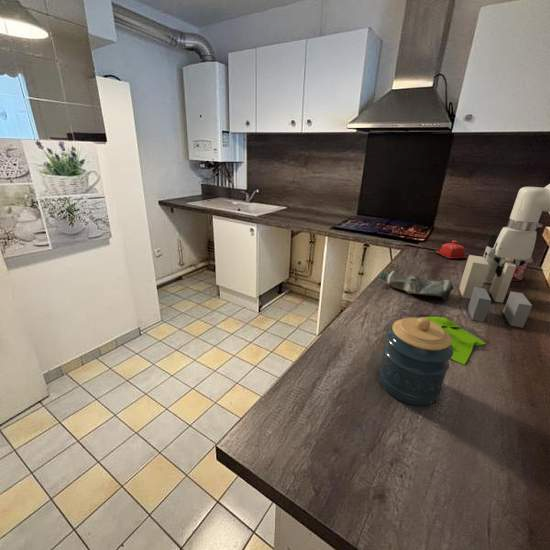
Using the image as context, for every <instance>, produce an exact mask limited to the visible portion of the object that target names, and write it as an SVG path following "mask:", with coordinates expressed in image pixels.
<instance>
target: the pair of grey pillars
mask: <svg viewBox="0 0 550 550" xmlns="http://www.w3.org/2000/svg"><path fill="white" fill-rule="evenodd" d="M491 303H492V299H491V297H490V294H489V293H488V291H487V289H486V288H483V287H482V288H478V287H474V289H473V292H472V295H471V299H469V302H468V306H467V310H468V313H469V315H470V319H471V321H475V322H480V323H484V322H485V320H486V317H487V314H488V311H489V308H490V306H491ZM532 307H533V305H532V303H531V302H530V301H529V299H528V298H527V297H526V295H524V293H523V292H517V291H510V292H509V294H508V297H507V300H506V303H505V306H504V308H503V311H502V313H503V315H504V316H505V318H506V320H507V322H508V324H509V325H510V326H511V327H517V328H520V329H521V328H522V329H523V328H524V326H525V324H526V322H527V320H528V317H529V315H530V313H531V309H532Z"/></svg>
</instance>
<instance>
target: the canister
mask: <svg viewBox="0 0 550 550" xmlns="http://www.w3.org/2000/svg"><path fill="white" fill-rule="evenodd" d="M425 317H426V316H421V317H415V316H414V317H406V318H400V319H398V320H396V321H395V322H393V324H392V326H391V328H390V329H388V331H387V332H386V342H385V343H384V346H383V354H382V355H383V356H382V360H381V364H380V366H379V375H378V376H379V382H380V384H381V386H382V388H383V389H384V390H385V391H386V392H387V393H388V394H389V395H390V396H391V397H393V398H395V399H397V400H398V401H400V402H403V403H406V404H408V405H412V406H413V405H414V406H428V405H431V404H433V403H435V402H436V401H437V400H438V398H439V397H440V395H441V393H442V389H443V383H444V381H445V378H446V374H447V372H448V370H449V368H450V361H449V360H451V359H450V358H451V357H452V356H453V348H452V346H451V342H452V340H451V337H450V335H449V334H448V333H447V332H446V331H445V330H444V329H442V328H441V327H440V326H439V325H437V324H436V323H434V322H432V321H429V319H427V318H425Z"/></svg>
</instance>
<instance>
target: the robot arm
mask: <svg viewBox="0 0 550 550" xmlns="http://www.w3.org/2000/svg"><path fill="white" fill-rule="evenodd" d="M543 212H547V213H550V183H549V184H547V185H546V186H544V187H539V186H523V187H521V188H520V189H519V190H518V192H517V195H516V197H515V201H514V204H513V207H512V209H511V213H510V215H509V219H508V221H507V224H506V226H503V227H502V228H501V230H500V232H499V233H500V234H499V236H498V238H497V240H496V243H495V245H494V248H493V250H492V251H491V252H490V253H489V254H488V256H489V257H490V258H492V259H494V260H495V261H496V262H497V264H498V265H497V268H496V271H495V273H496V275H497V276H498V277H500V276H501V274H502V271H503V268H504V267H503V263H504V261H505V259H506V258H510V259H514V260H513V263H514V264H515V265H516V268H518V267H519V266H521V265H523V264H527V263H528V264H531V263H533V262H534V260H533V255H532V254H533V252H534V249H535V246H536V239H537V232H538V231H537V229H542V227H543V223H539V221H540V218H541V215H542V213H543ZM495 255H496V256H495ZM497 256H498V257H499V258H498V257H497ZM515 271H516V269H515ZM514 273H515V272H514ZM513 276H514V274H513Z"/></svg>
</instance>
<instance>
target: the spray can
mask: <svg viewBox="0 0 550 550" xmlns="http://www.w3.org/2000/svg"><path fill="white" fill-rule="evenodd" d="M499 234H500V232H492V233H490V235H489V238H488V241H487V244H486V247H485V250H484V253H483V256H482V257H484V258H485V259H486V261H487V262H488V264H489V267H488V270H487V273H486V276H485V279H484V282H483V284H487V285H490V284H491V285H492V283H493V280H494V277H495V274H496V273H495V271H496V268H497V265H498V264H497V262H496V261H495V260H494V259H492V258H490V257H489V256H488V254H489V253H490V252H491V251H492V250H493V248H494V245H495V243H496V240H497V238H498V236H499ZM495 256H496V255H495ZM497 257H498V256H497ZM498 258H499V257H498Z"/></svg>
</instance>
